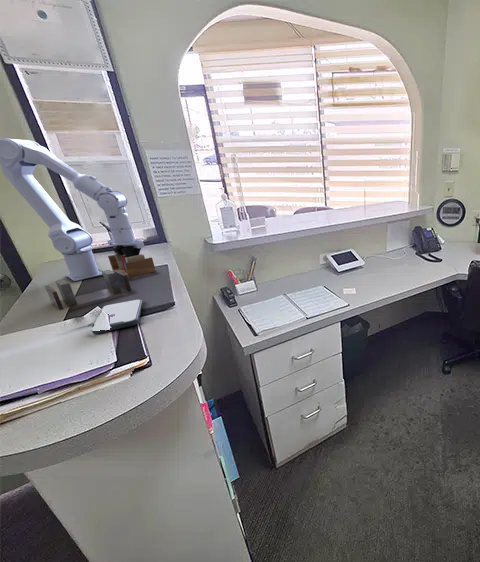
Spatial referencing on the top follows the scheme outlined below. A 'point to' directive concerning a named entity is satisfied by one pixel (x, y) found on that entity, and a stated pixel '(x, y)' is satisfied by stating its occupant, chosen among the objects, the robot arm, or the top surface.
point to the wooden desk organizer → (132, 265)
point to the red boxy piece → (123, 261)
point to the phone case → (123, 314)
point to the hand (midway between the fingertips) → (132, 266)
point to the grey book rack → (115, 285)
